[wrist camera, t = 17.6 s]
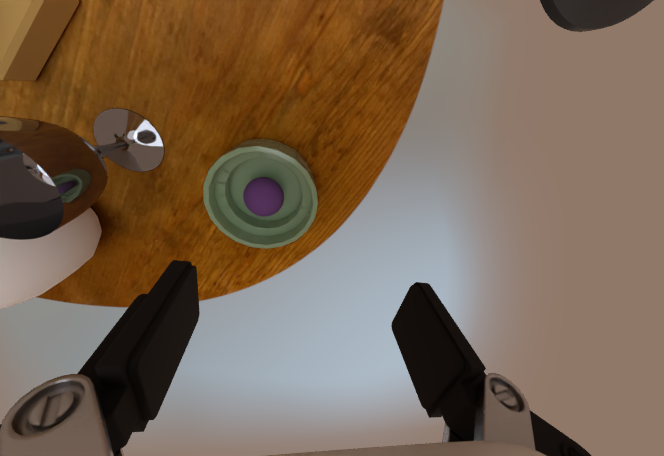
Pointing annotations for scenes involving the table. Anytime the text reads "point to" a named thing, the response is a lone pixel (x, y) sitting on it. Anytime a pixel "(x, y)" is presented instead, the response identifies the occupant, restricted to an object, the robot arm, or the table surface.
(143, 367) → the robot arm
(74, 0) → the rubber stamp
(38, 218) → the silver goblet
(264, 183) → the purple ball
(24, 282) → the white vase
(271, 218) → the green bowl
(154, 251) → the table surface
